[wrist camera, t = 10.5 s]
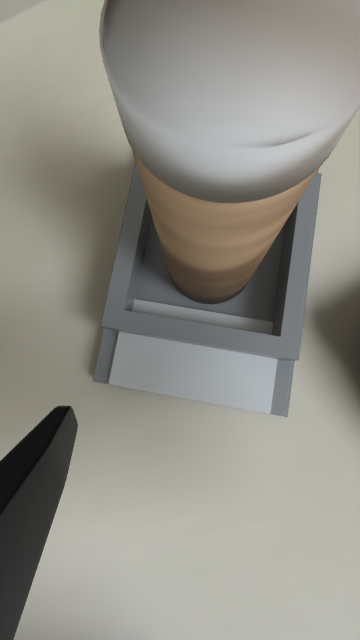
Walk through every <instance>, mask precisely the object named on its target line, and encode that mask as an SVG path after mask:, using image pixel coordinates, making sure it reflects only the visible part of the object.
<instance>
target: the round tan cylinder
mask: <svg viewBox="0 0 360 640" xmlns="http://www.w3.org/2000/svg"><path fill="white" fill-rule="evenodd" d="M99 33H100V48H101V53H102V58H103V63H104V66H105V69H106V73H107V76H108V79H109V82H110V86H111V89H112V92H113V95H114V99H115V102H116V105H117V108H118V112H119V115H120V118H121V121H122V125H123V128H124V131H125V134H126V136H127V139H128V142H129V144H130V146H131V148H132V150H133V154H134V157H135V160H136V164H137V167H138V170H139V174H140V177H141V180H142V184H143V187H144V190H145V194H146V197H147V201H148V204H149V207H150V211H151V214H152V217H153V221H154V224H155V227H156V231H157V234H158V237H159V241H160V244H161V248H162V251H163V254H164V258H165V261H166V264H167V268H168V271H169V274H170V277H171V280H172V282H173V284H174V285H175V287H176V288H177V289H178V290H179V292H180V293H182V294H183V295H184V296H185V297H187V298H188V299H190V300H192V301H194V302H198V303H201V304H219V303H223V302H226V301H229V300H231V299H233V298H234V297H236V296H237V295H238V294H239V293H241V292H242V290H243V289H244V288H245V287H246V285H247V284H248V282H249V281H250V279H251V277H252V276H253V274H254V272H255V271H256V269H257V268H258V266H259V264H260V263H261V261H262V260H263V258H264V256H265V255H266V253H267V251H268V250H269V248H270V247H271V245H272V243H273V242H274V240H275V239H276V237H277V235H278V234H279V232H280V230H281V229H282V227H283V226H284V224H285V222H286V221H287V219H288V217H289V216H290V214H291V213H292V211H293V209H294V208H295V206H296V205H297V203H298V201H299V200H300V198H301V196H302V195H303V193H304V192H305V190H306V188H307V187H308V185H309V184H310V182H311V180H312V179H313V177H314V175H315V174H316V172H317V171H318V169H319V167H320V166H321V165H322V164H323V163H324V161H325V160H326V159H327V158H328V157H329V155H330V154H331V152H332V151H333V149H334V147H335V146H336V144H337V143H338V141H339V140H340V138H341V136H342V135H343V133H344V132H345V130H346V128H347V127H348V125H349V124H350V122H351V121H352V119H353V117H354V116H355V114H356V113H357V111H358V109H359V108H360V0H105V1H104V5H103V9H102V13H101V20H100V29H99Z"/></svg>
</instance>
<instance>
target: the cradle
mask: <svg viewBox="0 0 360 640" xmlns="http://www.w3.org/2000/svg"><path fill="white" fill-rule="evenodd" d="M320 182H321V174H319V173H318V171H317V172H316V174H315V175H314V177H313V179H312V180H311V182H310V184H309V185H308V187H307V188H306V190H305V192H304V193H303V195H302V196H301V198H300V200H299V201H298V203H297V205H296V206H295V208H294V209H293V211H292V213H291V214H290V216H289V217H288V219H287V221H286V222H285V224H284V226H283V227H282V229H281V230H280V232H279V234H278V235H277V237H276V239H275V240H274V242H273V243H272V245H271V247H270V248H269V250H268V251H267V253H266V255H265V256H264V258H263V260H262V261H261V263H260V264H259V266H258V268H257V269H256V271H255V272H254V274H253V276H252V277H251V279H250V281H249V282H248V284H247V285H246V287H245V288H244V289H243V290H242V292H241V293H239V294H238V295H237V296H236V297H234V298H233V299H231V300H229V301H226V302H223V303H219V304H201V303H198V302H194V301H192V300H190V299H188V298H187V297H185V296H184V295H183V294H182V293H180V292H179V290H178V289H177V288H176V287H175V285H174V284H173V282H172V280H171V277H170V274H169V271H168V268H167V264H166V261H165V258H164V254H163V251H162V248H161V244H160V241H159V237H158V234H157V231H156V227H155V224H154V221H153V217H152V214H151V211H150V207H149V204H148V201H147V197H146V194H145V190H144V187H143V184H142V180H141V177H140V174H139V170H138V167H137V164H136V163H135V167H134V172H133V177H132V182H131V186H130V191H129V196H128V200H127V205H126V210H125V215H124V219H123V224H122V229H121V233H120V238H119V243H118V247H117V252H116V257H115V262H114V266H113V271H112V276H111V280H110V285H109V290H108V295H107V299H106V304H105V309H104V313H103V318H102V323H101V326H102V327H104V330H103V334H102V339H101V344H100V349H99V353H98V358H97V363H96V367H95V372H94V377H93V381H96V382H101V383H107V384H109V385H114V386H119V387H125V388H130V389H136V390H141V391H146V392H152V393H157V394H163V395H168V396H173V397H179V398H184V399H190V400H195V401H200V402H206V403H211V404H217V405H222V406H227V407H233V408H238V409H244V410H249V411H254V412H260V413H265V414H274V415H279V416H285V417H287V416H288V408H289V400H290V392H291V384H292V376H293V368H294V360H299V352H300V344H301V336H302V328H303V320H304V311H305V303H306V295H307V287H308V279H309V271H310V263H311V255H312V247H313V238H314V230H315V222H316V214H317V206H318V198H319V190H320Z"/></svg>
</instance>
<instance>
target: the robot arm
mask: <svg viewBox="0 0 360 640" xmlns="http://www.w3.org/2000/svg"><path fill="white" fill-rule="evenodd" d="M77 428H78V424H77V420H76V417H75V414H74V411H73V409H72V407H71V406H57V407H56V408H54V409H53V410H52V411H51V412H50V413H49V414H48V415H47V416H46V417H45V418H44V419H43V420H42V421H41V422H40V423H39V424H38V425H37V426H36V427H35V428H34V429H33V430H32V431H31V432H30V433H29V434H28V435H27V436H26V437H25V438H24V439H23V440H21V441H20V442H19V443H18V444H17V445H16V446H15V447H14V448H13V449H12V450H11V451H10V452H9V453H8V454H7V455H6V456H5V457H4V458H3V459H2V460H1V461H0V640H13V639H14V636H15V633H16V630H17V627H18V624H19V621H20V618H21V615H22V612H23V609H24V606H25V603H26V600H27V597H28V594H29V591H30V588H31V585H32V582H33V579H34V576H35V573H36V570H37V567H38V564H39V561H40V558H41V555H42V552H43V549H44V546H45V543H46V540H47V537H48V534H49V531H50V528H51V525H52V522H53V519H54V516H55V513H56V510H57V507H58V504H59V501H60V498H61V495H62V492H63V489H64V485H65V482H66V478H67V474H68V470H69V465H70V461H71V456H72V452H73V447H74V443H75V438H76V433H77Z"/></svg>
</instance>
